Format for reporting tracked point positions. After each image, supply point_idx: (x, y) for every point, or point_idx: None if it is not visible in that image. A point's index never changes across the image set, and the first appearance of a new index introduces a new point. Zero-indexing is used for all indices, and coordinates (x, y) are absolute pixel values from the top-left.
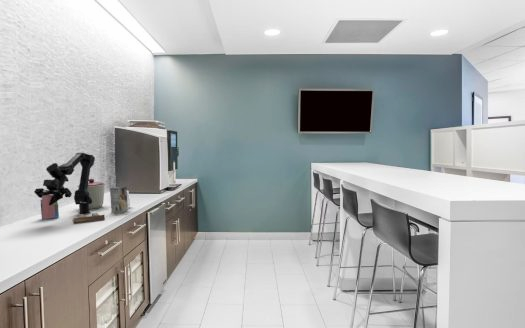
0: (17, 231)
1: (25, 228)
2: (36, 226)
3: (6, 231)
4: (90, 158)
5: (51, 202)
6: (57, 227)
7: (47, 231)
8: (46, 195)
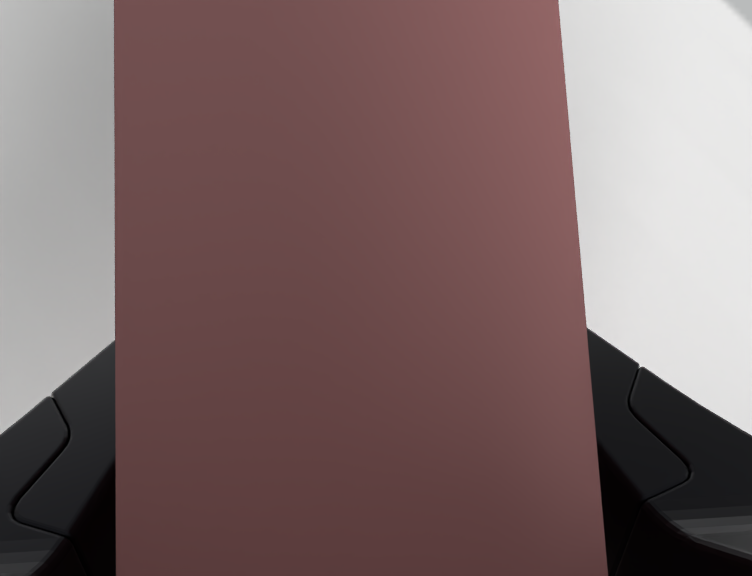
0: (570, 34)
1: (606, 202)
2: None
3: (736, 40)
4: None
5: None
6: (104, 252)
7: (98, 16)
8: (428, 270)
